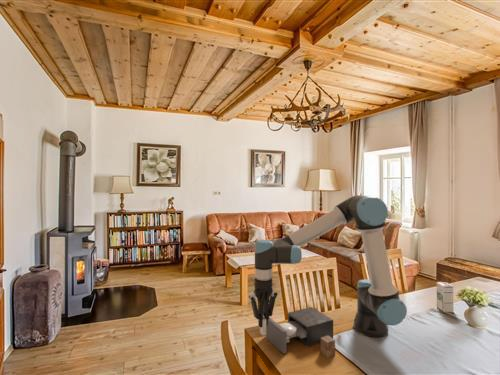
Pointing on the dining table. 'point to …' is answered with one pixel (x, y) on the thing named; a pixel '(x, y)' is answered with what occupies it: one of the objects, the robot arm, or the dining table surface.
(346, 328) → the dining table surface
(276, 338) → the grey drawer
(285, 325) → the disc
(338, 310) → the dining table surface
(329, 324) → the housing
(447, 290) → the syrup box
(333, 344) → the pedestal
